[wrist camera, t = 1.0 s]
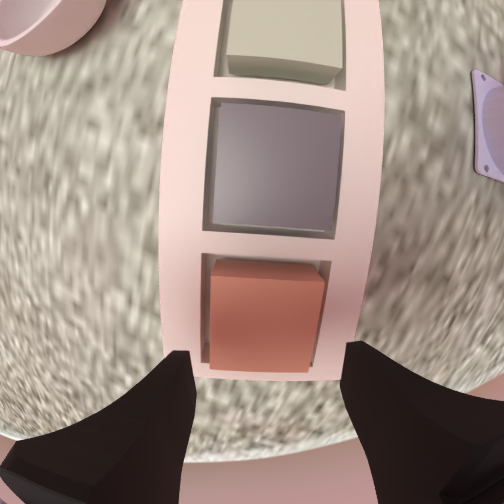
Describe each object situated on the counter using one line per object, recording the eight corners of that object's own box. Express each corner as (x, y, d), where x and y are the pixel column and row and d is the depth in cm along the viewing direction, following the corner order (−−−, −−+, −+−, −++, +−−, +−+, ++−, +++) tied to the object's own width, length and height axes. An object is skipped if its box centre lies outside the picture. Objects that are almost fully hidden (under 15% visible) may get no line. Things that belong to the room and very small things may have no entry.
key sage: (327, 11, 11) (340, -12, 9) (327, 84, 13) (342, 68, 10) (237, 0, 11) (236, -25, 9) (229, 74, 12) (226, 54, 10)
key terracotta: (312, 265, 15) (324, 282, 12) (300, 346, 16) (308, 372, 14) (216, 259, 15) (210, 275, 12) (214, 342, 16) (209, 369, 13)
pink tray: (359, 14, 13) (377, -7, 10) (330, 352, 18) (342, 379, 15) (197, -4, 12) (190, -30, 10) (175, 345, 18) (165, 373, 15)
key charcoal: (325, 125, 13) (341, 115, 11) (317, 221, 14) (331, 231, 12) (225, 115, 13) (221, 102, 10) (218, 214, 14) (213, 222, 12)
